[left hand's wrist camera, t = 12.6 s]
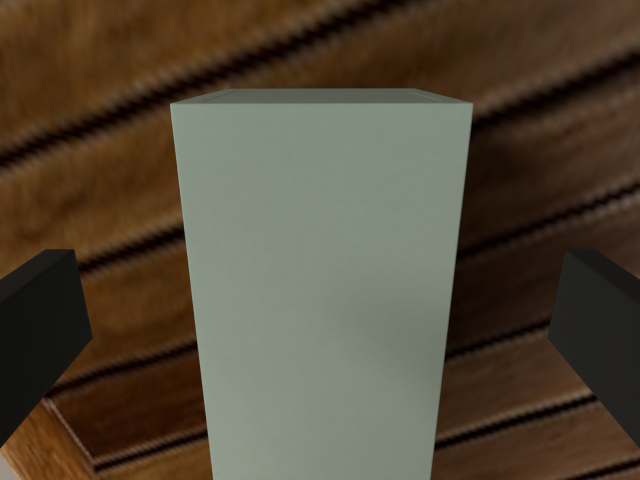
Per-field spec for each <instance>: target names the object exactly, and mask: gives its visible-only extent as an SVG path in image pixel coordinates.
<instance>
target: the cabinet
mask: <svg viewBox="0 0 640 480" xmlns="http://www.w3.org/2000/svg"><path fill="white" fill-rule="evenodd" d="M473 106H474V104H473V103H471V102H466V101H462V100H458V99H454V98H450V97H446V96H442V95H438V94H434V93H430V92H426V91H422V90H418V89H226V90H222V91H218V92H214V93H210V94H206V95H202V96H198V97H194V98H191V99H187V100H183V101H179V102H175V103H172V104H171V105H170V108H171V116H172V125H173V133H174V142H175V151H176V159H177V168H178V177H179V185H180V194H181V203H182V211H183V220H184V229H185V237H186V246H187V255H188V263H189V272H190V281H191V289H192V298H193V307H194V315H195V324H196V332H197V341H198V350H199V358H200V367H201V376H202V384H203V393H204V402H205V410H206V419H207V428H208V436H209V445H210V454H211V462H212V471H213V480H430V479H431V470H432V461H433V453H434V444H435V435H436V427H437V418H438V409H439V401H440V392H441V383H442V375H443V366H444V357H445V349H446V340H447V331H448V323H449V314H450V305H451V297H452V288H453V280H454V271H455V262H456V254H457V245H458V236H459V228H460V219H461V210H462V202H463V193H464V184H465V176H466V167H467V158H468V150H469V141H470V132H471V124H472V115H473Z"/></svg>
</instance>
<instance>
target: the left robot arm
mask: <svg viewBox="0 0 640 480" xmlns="http://www.w3.org/2000/svg"><path fill="white" fill-rule="evenodd" d="M92 338H93V337H92V332H91V327H90V322H89V318H88V313H87V308H86V303H85V298H84V294H83V289H82V284H81V279H80V275H79V270H78V265H77V260H76V255H75V251H74V249H45V250H44V251H42V252H41V253H39V254H38V255H36V256H35V257H33V258H32V259H30V260H29V261H27V262H26V263H24V264H23V265H21V266H20V267H18V268H17V269H15V270H14V271H12V272H11V273H9V274H8V275H6V276H5V277H3V278H2V279H0V448H1V447H2V446H3V445H4V443H5V442H6V441H7V440H8V439H9V437H10V436H11V435H12V434H13V433H14V431H15V430H16V429H17V428H18V427H19V425H20V424H21V423H22V422H23V421H24V419H25V418H26V417H27V416H28V415H29V413H30V412H31V411H32V410H33V409H34V408H35V406H36V405H37V404H38V403H39V402H40V400H41V399H42V398H43V397H44V396H45V394H46V393H47V392H48V391H49V390H50V388H51V387H52V386H53V385H54V384H55V382H56V381H57V380H58V379H59V378H60V376H61V375H62V374H63V373H64V372H65V370H66V369H67V368H68V367H69V366H70V364H71V363H72V362H73V361H74V360H75V358H76V357H77V356H78V355H79V354H80V352H81V351H82V350H83V349H84V348H85V346H86V345H87V344H88V343H89V342H90V340H91V339H92ZM547 338H548V339H549V340H550V342H551V343H552V344H553V345H554V346H555V348H556V349H557V350H558V351H559V352H560V354H561V355H562V356H563V357H564V358H565V360H566V361H567V362H568V363H569V364H570V366H571V367H572V368H573V369H574V370H575V372H576V373H577V374H578V375H579V376H580V378H581V379H582V380H583V381H584V382H585V384H586V385H587V386H588V387H589V388H590V390H591V391H592V392H593V393H594V394H595V396H596V397H597V398H598V399H599V400H600V402H601V403H602V404H603V405H604V406H605V408H606V409H607V410H608V411H609V412H610V413H611V415H612V416H613V417H614V418H615V419H616V421H617V422H618V423H619V424H620V425H621V427H622V428H623V429H624V430H625V431H626V433H627V434H628V435H629V436H630V437H631V439H632V440H633V441H634V442H635V443H636V445H637V446H638V447H639V448H640V279H638V278H637V277H635V276H634V275H632V274H631V273H629V272H628V271H626V270H625V269H623V268H622V267H620V266H619V265H617V264H616V263H614V262H613V261H611V260H610V259H608V258H607V257H605V256H604V255H602V254H601V253H599V252H598V251H596V250H595V249H566V251H565V255H564V260H563V265H562V270H561V274H560V279H559V284H558V289H557V294H556V298H555V303H554V308H553V313H552V317H551V322H550V327H549V332H548V337H547Z"/></svg>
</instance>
